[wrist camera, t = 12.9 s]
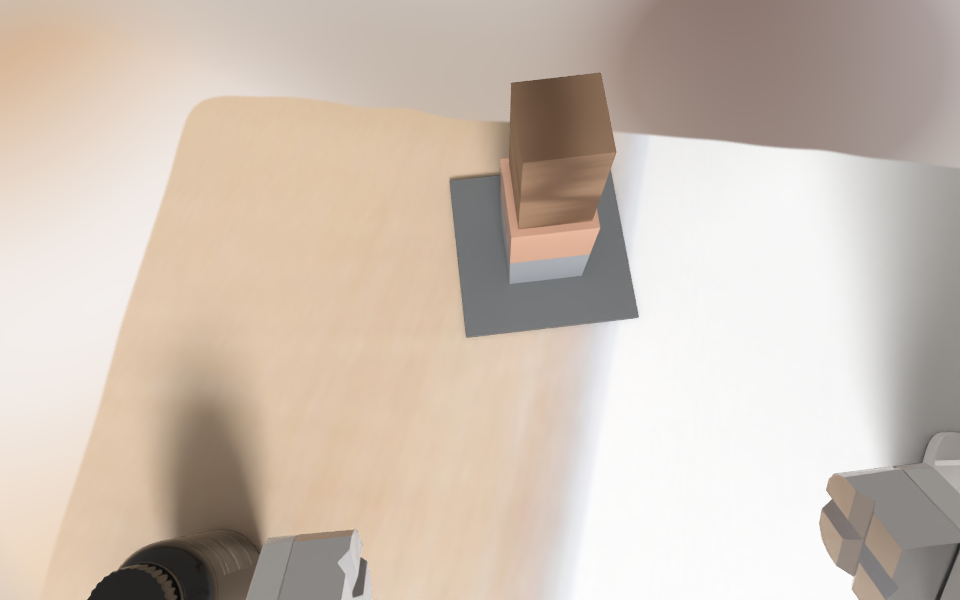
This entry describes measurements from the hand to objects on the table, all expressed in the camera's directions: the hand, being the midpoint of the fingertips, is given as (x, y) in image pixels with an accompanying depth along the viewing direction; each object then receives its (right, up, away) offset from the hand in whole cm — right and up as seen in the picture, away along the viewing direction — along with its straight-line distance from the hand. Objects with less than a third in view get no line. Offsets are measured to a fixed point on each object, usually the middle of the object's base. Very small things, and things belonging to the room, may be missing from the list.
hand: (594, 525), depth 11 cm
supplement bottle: (-21, -17, +35) cm, 44 cm away
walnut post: (+3, +11, +31) cm, 33 cm away
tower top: (+3, +10, +36) cm, 38 cm away
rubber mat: (+3, +8, +41) cm, 42 cm away
